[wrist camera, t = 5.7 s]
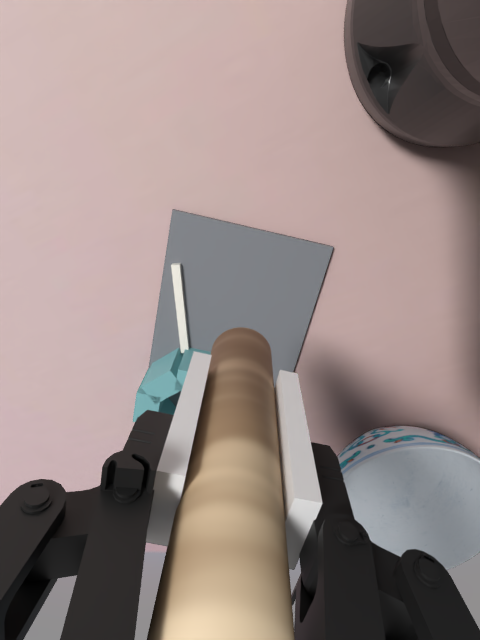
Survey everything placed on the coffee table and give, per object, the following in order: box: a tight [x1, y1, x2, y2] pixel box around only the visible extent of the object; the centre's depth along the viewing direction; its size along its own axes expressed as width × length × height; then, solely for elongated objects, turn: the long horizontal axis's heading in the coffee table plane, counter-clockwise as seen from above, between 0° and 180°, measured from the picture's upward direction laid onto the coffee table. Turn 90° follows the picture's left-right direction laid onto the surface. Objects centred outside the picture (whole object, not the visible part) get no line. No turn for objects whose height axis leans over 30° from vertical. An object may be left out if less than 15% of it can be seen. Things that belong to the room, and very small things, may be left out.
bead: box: [133, 347, 211, 422], centre depth 35 cm, size 9×9×4 cm
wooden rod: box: [147, 327, 295, 640], centre depth 11 cm, size 3×3×17 cm
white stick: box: [171, 263, 189, 353], centre depth 33 cm, size 8×1×1 cm, turn 2°
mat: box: [149, 209, 333, 407], centre depth 34 cm, size 20×13×1 cm, turn 167°
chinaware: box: [338, 426, 480, 570], centre depth 36 cm, size 15×15×8 cm
